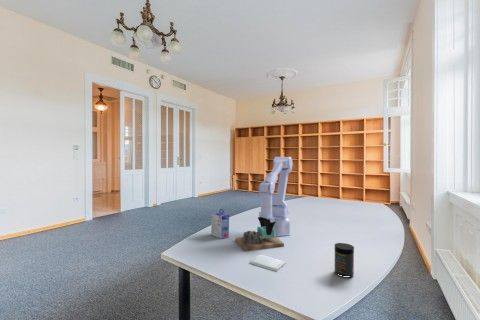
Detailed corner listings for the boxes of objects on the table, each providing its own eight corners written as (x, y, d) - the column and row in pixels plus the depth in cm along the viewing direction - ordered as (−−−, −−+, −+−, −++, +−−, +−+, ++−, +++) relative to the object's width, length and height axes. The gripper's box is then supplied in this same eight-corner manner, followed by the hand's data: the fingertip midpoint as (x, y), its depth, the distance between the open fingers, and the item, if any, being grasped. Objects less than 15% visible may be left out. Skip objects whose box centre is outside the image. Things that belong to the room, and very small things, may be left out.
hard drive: (250, 260, 99) (277, 268, 92) (260, 254, 106) (286, 261, 99) (250, 264, 99) (277, 273, 92) (260, 257, 106) (286, 265, 99)
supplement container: (354, 279, 86) (354, 250, 86) (333, 276, 89) (334, 247, 89) (353, 271, 92) (353, 244, 92) (334, 268, 95) (334, 241, 95)
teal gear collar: (269, 233, 128) (269, 225, 128) (275, 237, 121) (275, 229, 121) (256, 234, 126) (256, 226, 125) (262, 239, 119) (262, 230, 119)
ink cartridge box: (229, 237, 131) (229, 210, 131) (221, 239, 128) (221, 212, 127) (218, 232, 139) (218, 207, 139) (210, 234, 135) (210, 208, 135)
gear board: (270, 236, 132) (270, 225, 132) (284, 246, 118) (284, 234, 118) (235, 240, 126) (235, 229, 126) (245, 251, 112) (245, 238, 112)
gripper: (253, 203, 129) (253, 229, 129) (265, 209, 115) (264, 238, 115) (266, 203, 131) (265, 228, 131) (278, 208, 117) (278, 236, 117)
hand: (266, 232), depth 123 cm, fingers closed on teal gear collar, 6 cm apart
